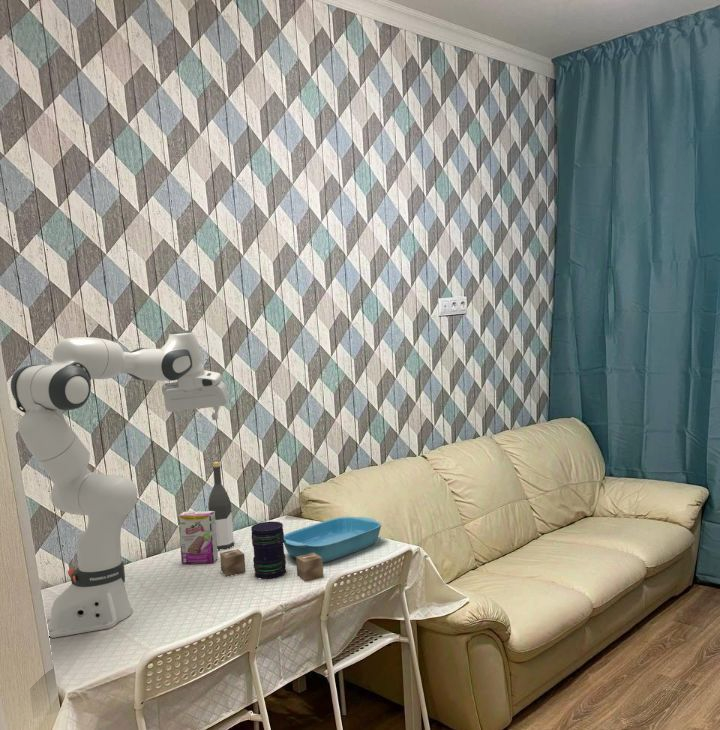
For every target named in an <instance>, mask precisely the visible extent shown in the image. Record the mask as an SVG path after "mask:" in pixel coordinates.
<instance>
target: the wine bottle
mask: <svg viewBox="0 0 720 730" xmlns="http://www.w3.org/2000/svg"><path fill="white" fill-rule="evenodd" d="M212 470H213V481H214V483H213V485H212V486H213V487H212V489H211V492H210V494H209V496H208V497H209V498H208V504H207V505H208V507H207V508H208V511H215V523H216V537H217V549H224V550H228V549H227V548H229V549H231V548H233V547H234V546H235V540H234V527H233V526H234V525H233V514H232V502H231V499H230V497H229V494H228V492H227V491H226V488H224V486H223V484H222V477H221V475H222V474H221V465H220V462H219V461H215V462H213V466H212ZM232 546H233V547H232ZM230 547H231V548H230Z"/></svg>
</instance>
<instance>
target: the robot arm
mask: <svg viewBox="0 0 720 730" xmlns="http://www.w3.org/2000/svg"><path fill="white" fill-rule="evenodd" d="M121 373H122V374H126V375H129V376H131V377H132V378H133V379H135V380H137V381H142V382H143V381H160V382H166V383H164V384H163V385H162V386H161V392H162V395H163V401H164V406H165V410H166V411H167V412H168V413H172V412H177V414H178V415H179V416H180V417H181V419H183V423H184V424H188V423H190V422H191V419H190V415H187V414H186V413H185V411H191V410H197V409H206V408H212V409H213V410H214V412H213V413H212V414H211V418H212V420H213V421H216V420H219V410H220V408H221V407H226V405H227V404H228V403H229V402H230V396H229V395H230V394H229V392H228V390H227V385H226V384H225V383H224V382H223V381H222V374H221V373H219V372H216V371H211V370H210V371H209V370H205V366H204V364H203V363H202V354H201V350H200V345H199V341H198V339H197V337H196V334H195V333H194V332H193V331H191V330H175V331H172V332H170V333H168V338H167V340H166V342H165V344H163V346H162V347H161V348H148V347H138V348H136V349H134V350H132V351H124V350H123V348H122V346H121V345H120V344H119V343H118V342H115V341H113V340H109V339H105V338H101V337H100V338H99V337H89V336H88V337H87V336H80V337H79V336H78V337H69V338H63V339H62V340H60V341H59V342H58V343H56V346H55V347H54V350H53V353H52V362H51V363H50V364H30V365H26V366H23V367H21V368H19V369H18V370H16V371H15V372H14V374H13V375H12V377H11V380H10V390H11V394H12V398H13V399H14V400H15V404H16V408H17V409H18V410H19V411H20V412H22V413H24V414H23V415H22V416H21V418H20V419H19V422H18V425H17V430H18V433H19V435H20V437H21V438H22V441H23V443H24V445H25V446H26V448H27V449H28V451H29V452H30V454H31V456H33V458H34V459H35V460H36V461H37V462H38V464H39V466H41V467H42V469H43V470H44V471H45V472H46V474H47V475H48V476H49V478H50V480H51V482H52V483H53V486H52V488H51V493H50V498H51V501H52V502H51V503H52V504H53V506H54V508H56V509H57V510H59V511H62V512H64V513H67V514H71V515H76V516H77V515H79V516H87V519H88V520H87V521H88V522H87V527H86V530H84V531H83V532H82V533H81V534H80V535H79V536H78V538H77V540H76V544H75V545H76V553H77V556H76V557H77V568H76V569H75V568H74V567H71V568H68V570H67V575H68V577H70V581H71V584H70V585H69V586H68V587H67V588H66V589H65V590H63V592H62V593H61V594H60V595H58V596H57V597H56V598H55V599H54V600H53V603H52V607H51V612H50V616H48V617H46V619H47V624H48V630H49V635H50V637H49V638H60V637H65V636H66V637H67V636H72V635H78V634H82V633H88V632H94V631H100V630H106V629H111V628H113V627H115V626H117V624H118V623H119V622H121V621H123V620H125V619H127V618H128V617H129V616H130V615H131V614H132V613H133V609H132V605H131V603H130V601H129V600H130V599H129V598H128V594H127V589H126V585H125V582H126V569H125V565H124V564H125V563H124V561H123V560H122V548H121V546H122V545H121V534H122V533H121V532H122V526H123V524H124V521H125V519H126V517H127V515H128V514H129V513H131V512H132V510H133V509H134V508H135V506H136V505H137V503H138V502H137V501H138V489H137V486H136V484H135V482H134V481H133V480H131V479H129V478H126V477H123V476H119V475H116V474H99V473H98V474H97V473H95V472H92V471H91V470H90V469H89V468H88V466H89V464H90V460H91V453H90V452H89V449H88V448H87V447H86V445H85V444H83V441H81V439H80V438H79V436H78V435H77V434H76V432H75V431H74V430H73V429H72V428H71V426H70V425H69V424H68V423H67V421H66V419H65V416H64V412H63V411H72V410H77V409H79V408H81V407H83V406H84V405H86V403H87V401H88V399H89V398H90V395H91V389H92V380H106V379H107V380H108V379H114V378H117V376H118V375H120V374H121Z"/></svg>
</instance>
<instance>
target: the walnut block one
mask: <svg viewBox="0 0 720 730" xmlns="http://www.w3.org/2000/svg"><path fill="white" fill-rule="evenodd" d="M295 563H296V575H297V577H298V576H299V577H300V579H301V580H302V579H303V580H302V581H304V582H305V583H306V582H311V581H314V580H318V579H321V578H324V565H323V564H324V563H323V562H322V557H320V556H319V555H317V554H315V553H310V554H306V555H301V556H297V557H296V558H295ZM299 577H298V578H299Z"/></svg>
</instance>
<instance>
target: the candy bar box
mask: <svg viewBox="0 0 720 730" xmlns="http://www.w3.org/2000/svg"><path fill="white" fill-rule="evenodd" d="M177 518H178V519H177V520H178V530H179V531H178V533H179V542H180V556H181V558H180V559H181V564H182V565H186V563H188V564H190V563H195V564H214V563H215V562H216V561H217V560H218V559H219V552H218V551H219V550H217V537H216V523H215V511H209V510H206V511H205V510H204V511H203V510H202V511H183V512H181V513H180V514H179V515H178V517H177ZM217 558H218V559H217ZM216 559H217V560H216ZM188 564H187V565H188ZM190 565H191V564H190Z"/></svg>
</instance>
